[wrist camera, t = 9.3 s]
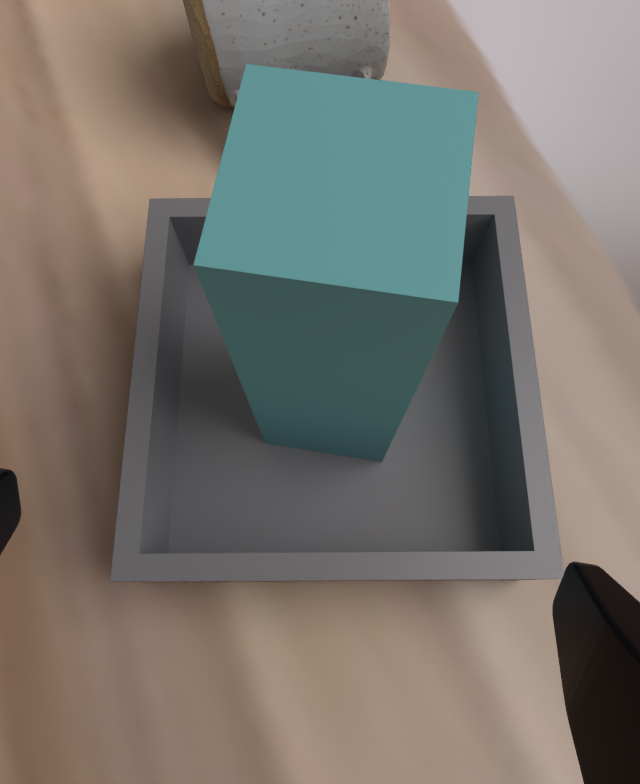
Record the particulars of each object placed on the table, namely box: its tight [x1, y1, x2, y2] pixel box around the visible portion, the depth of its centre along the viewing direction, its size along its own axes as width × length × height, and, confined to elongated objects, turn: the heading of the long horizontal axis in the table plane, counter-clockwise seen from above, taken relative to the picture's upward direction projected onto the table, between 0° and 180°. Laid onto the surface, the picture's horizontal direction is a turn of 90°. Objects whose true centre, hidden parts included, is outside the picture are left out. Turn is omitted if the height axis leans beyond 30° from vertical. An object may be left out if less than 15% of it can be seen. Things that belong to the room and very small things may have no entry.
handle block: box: [194, 64, 478, 462], centre depth 17 cm, size 4×4×13 cm
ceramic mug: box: [183, 0, 390, 108], centre depth 25 cm, size 11×8×8 cm
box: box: [110, 196, 564, 582], centre depth 21 cm, size 14×14×4 cm
